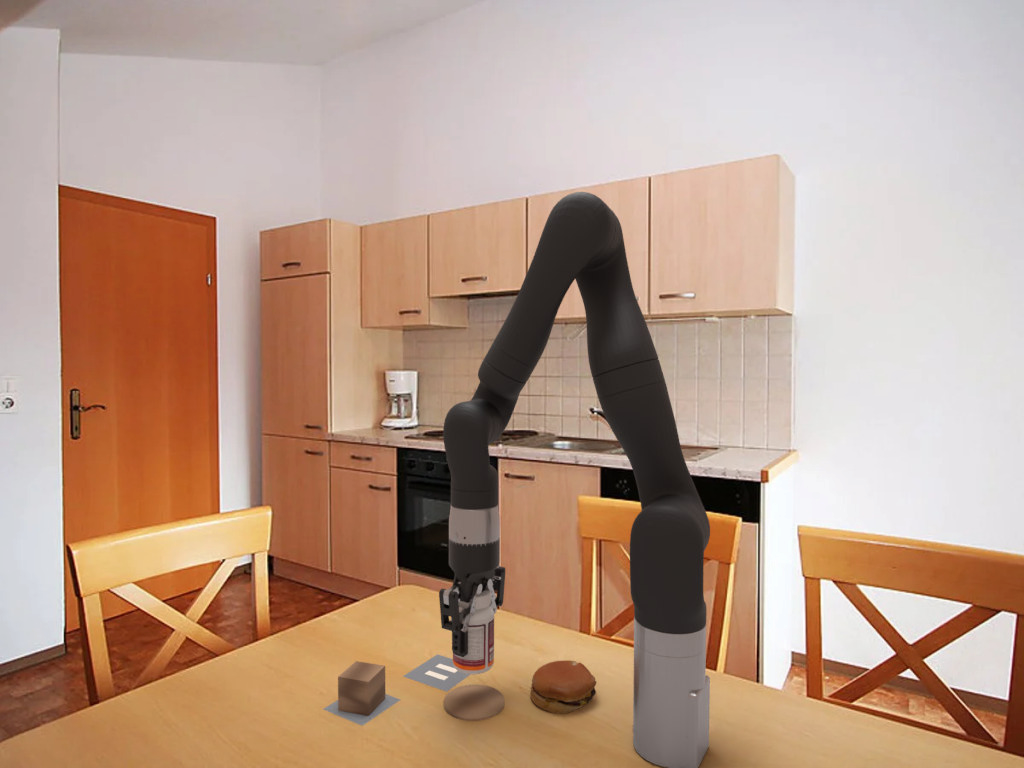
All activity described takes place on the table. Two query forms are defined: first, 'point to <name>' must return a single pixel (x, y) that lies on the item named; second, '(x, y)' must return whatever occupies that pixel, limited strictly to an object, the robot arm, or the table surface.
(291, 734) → the table surface
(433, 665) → the code tile
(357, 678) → the walnut block
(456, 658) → the pill bottle
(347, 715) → the code tile
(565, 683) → the burger
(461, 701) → the coaster
